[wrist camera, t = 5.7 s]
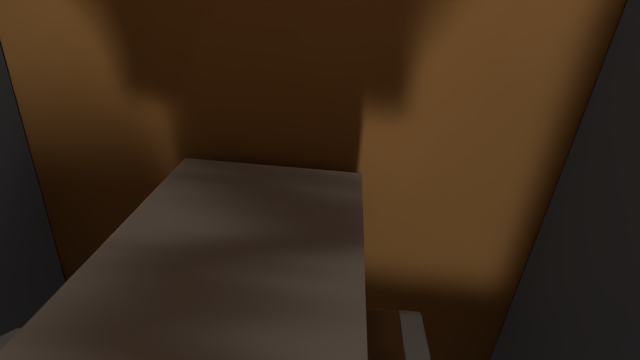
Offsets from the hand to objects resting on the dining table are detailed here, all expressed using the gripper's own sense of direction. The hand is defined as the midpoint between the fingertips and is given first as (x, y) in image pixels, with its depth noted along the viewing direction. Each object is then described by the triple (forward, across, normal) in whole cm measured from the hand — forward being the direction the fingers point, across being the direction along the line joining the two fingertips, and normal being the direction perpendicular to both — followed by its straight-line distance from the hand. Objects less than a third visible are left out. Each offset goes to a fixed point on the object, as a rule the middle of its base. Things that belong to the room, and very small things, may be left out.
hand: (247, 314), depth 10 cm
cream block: (+3, 0, 0) cm, 3 cm away
